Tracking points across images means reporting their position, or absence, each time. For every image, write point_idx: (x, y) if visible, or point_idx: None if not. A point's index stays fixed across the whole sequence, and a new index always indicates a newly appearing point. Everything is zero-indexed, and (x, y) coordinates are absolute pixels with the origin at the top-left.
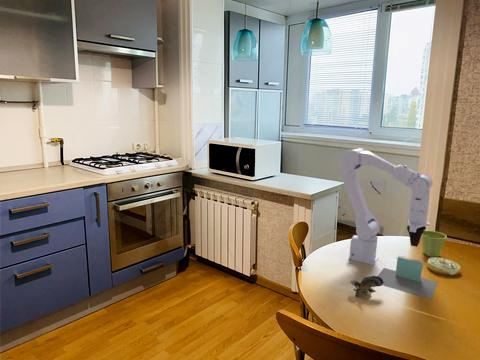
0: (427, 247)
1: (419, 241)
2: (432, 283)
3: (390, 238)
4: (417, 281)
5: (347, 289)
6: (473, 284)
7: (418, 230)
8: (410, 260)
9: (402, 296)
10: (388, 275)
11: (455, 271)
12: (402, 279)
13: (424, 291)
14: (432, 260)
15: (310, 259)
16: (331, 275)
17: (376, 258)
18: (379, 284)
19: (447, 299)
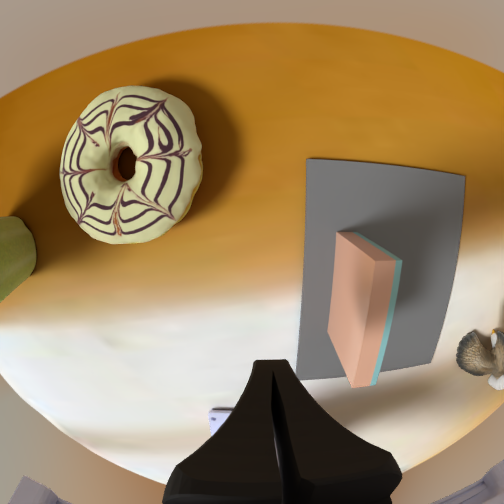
0: (15, 273)
1: (255, 379)
2: (339, 180)
3: (18, 381)
4: None
5: (471, 382)
6: (211, 32)
7: (389, 493)
8: (390, 325)
9: (473, 263)
10: None
11: (171, 96)
12: None
13: (429, 203)
14: (133, 221)
15: None
16: (413, 436)
17: (225, 416)
18: (500, 336)
19: (427, 120)
